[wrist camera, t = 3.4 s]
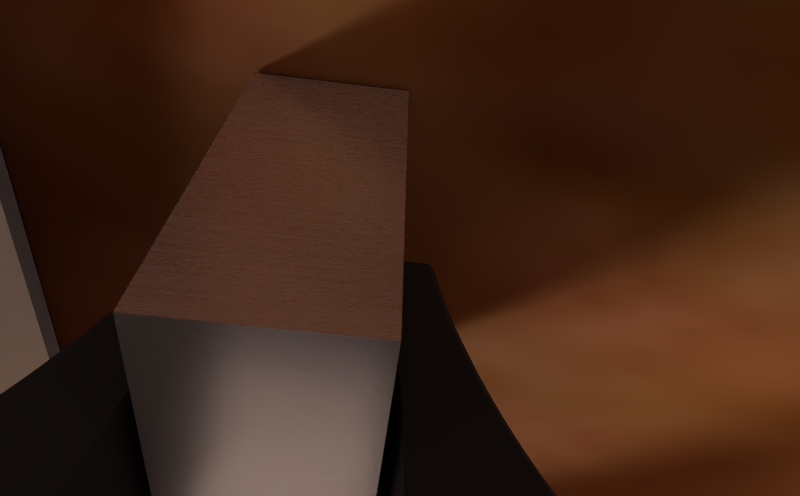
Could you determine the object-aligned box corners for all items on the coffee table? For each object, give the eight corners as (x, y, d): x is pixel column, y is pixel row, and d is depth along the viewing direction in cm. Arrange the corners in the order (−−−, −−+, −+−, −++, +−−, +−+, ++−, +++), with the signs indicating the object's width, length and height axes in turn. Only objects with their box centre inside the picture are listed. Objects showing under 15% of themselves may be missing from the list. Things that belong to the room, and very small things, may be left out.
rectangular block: (260, 348, 13) (179, 633, 9) (253, 72, 10) (113, 312, 5) (374, 359, 13) (352, 645, 9) (408, 91, 10) (401, 341, 5)
